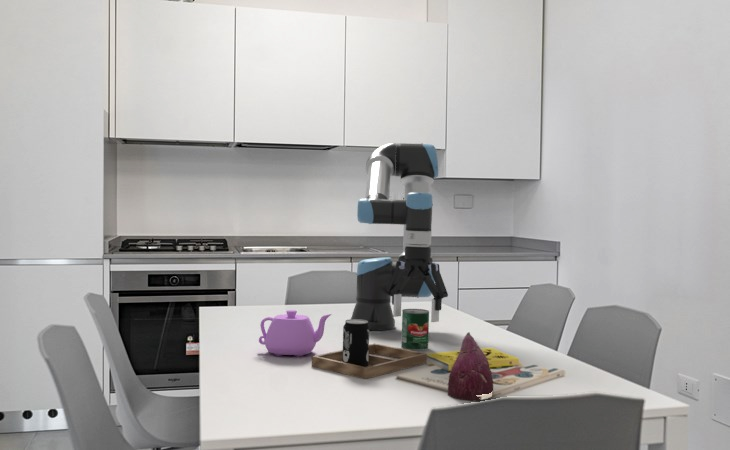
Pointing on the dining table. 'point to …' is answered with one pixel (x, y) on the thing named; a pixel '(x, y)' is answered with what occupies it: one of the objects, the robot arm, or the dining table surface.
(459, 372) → the vegetable
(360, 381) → the dining table surface
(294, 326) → the teapot
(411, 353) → the tray
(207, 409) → the dining table surface
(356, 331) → the beverage can
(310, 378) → the dining table surface
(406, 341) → the canned tomato
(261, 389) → the dining table surface
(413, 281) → the robot arm
